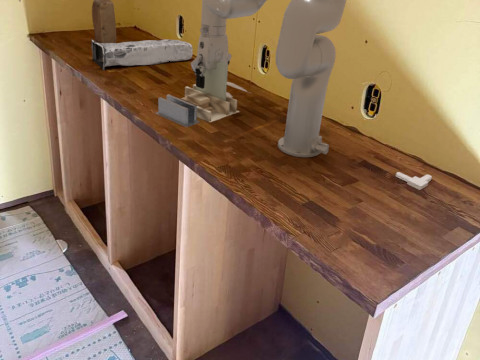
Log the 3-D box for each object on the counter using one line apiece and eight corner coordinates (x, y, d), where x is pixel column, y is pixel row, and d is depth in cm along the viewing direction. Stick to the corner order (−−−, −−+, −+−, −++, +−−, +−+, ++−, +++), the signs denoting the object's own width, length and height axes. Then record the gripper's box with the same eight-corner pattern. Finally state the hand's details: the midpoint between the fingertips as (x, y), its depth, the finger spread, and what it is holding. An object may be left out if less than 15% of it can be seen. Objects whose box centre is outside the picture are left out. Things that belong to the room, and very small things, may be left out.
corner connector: (407, 170, 131) (409, 165, 130) (434, 182, 126) (436, 177, 125) (392, 178, 126) (393, 173, 125) (419, 191, 121) (421, 186, 120)
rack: (239, 115, 155) (240, 99, 152) (209, 126, 145) (210, 109, 143) (196, 98, 166) (196, 83, 163) (165, 107, 156) (165, 91, 153)
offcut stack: (212, 112, 152) (213, 98, 149) (201, 116, 148) (202, 102, 146) (190, 103, 157) (190, 90, 155) (179, 106, 154) (179, 93, 151)
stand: (200, 126, 145) (201, 106, 142) (186, 131, 141) (186, 111, 138) (169, 112, 153) (169, 93, 149) (154, 117, 148) (154, 97, 145)
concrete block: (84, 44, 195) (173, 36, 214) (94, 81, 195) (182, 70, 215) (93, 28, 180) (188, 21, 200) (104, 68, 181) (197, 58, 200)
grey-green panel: (225, 109, 154) (228, 64, 147) (221, 110, 153) (224, 64, 146) (198, 99, 161) (200, 55, 153) (195, 100, 160) (196, 55, 152)
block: (118, 48, 214) (115, 1, 204) (102, 50, 210) (98, 2, 200) (107, 42, 221) (105, -4, 211) (92, 44, 217) (88, -3, 207)
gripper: (202, 36, 137) (200, 93, 146) (241, 29, 149) (237, 82, 158) (184, 30, 141) (183, 86, 150) (223, 24, 153) (220, 76, 162)
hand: (210, 84), depth 154 cm, fingers open, 9 cm apart
